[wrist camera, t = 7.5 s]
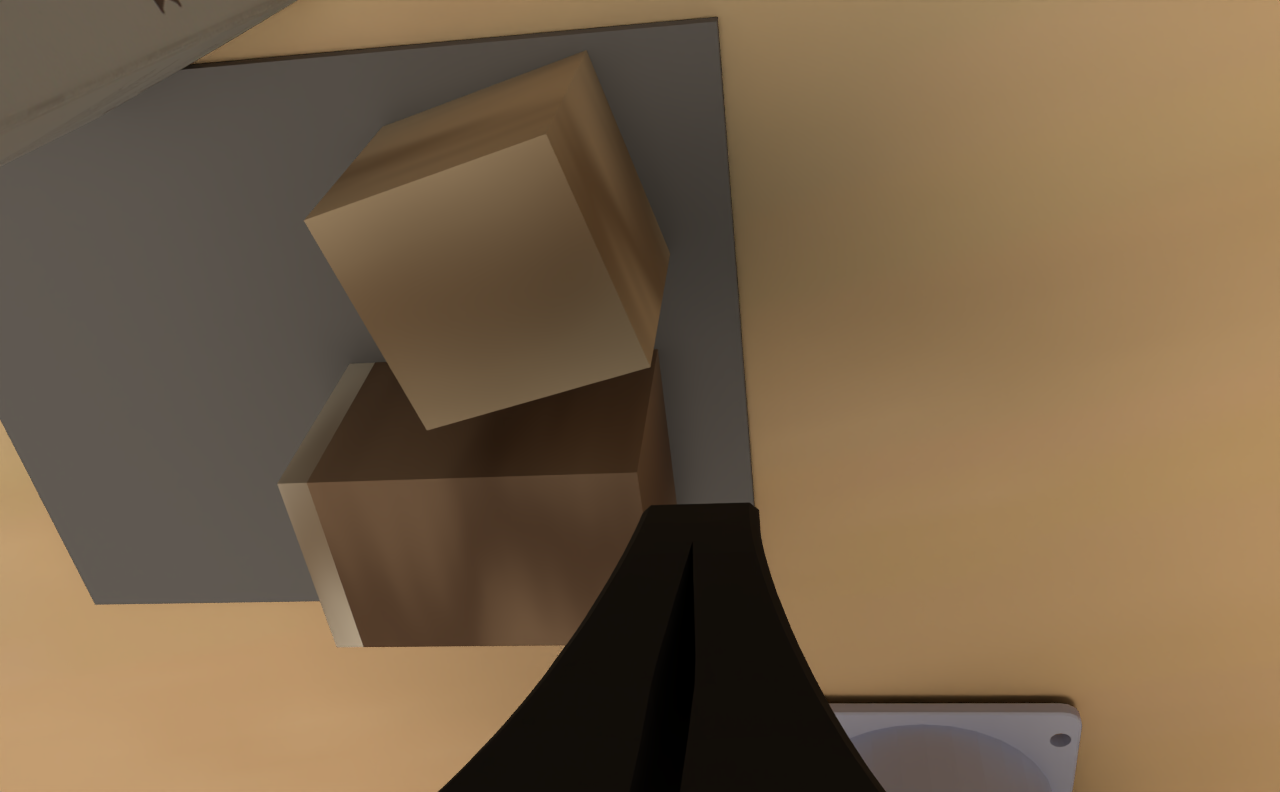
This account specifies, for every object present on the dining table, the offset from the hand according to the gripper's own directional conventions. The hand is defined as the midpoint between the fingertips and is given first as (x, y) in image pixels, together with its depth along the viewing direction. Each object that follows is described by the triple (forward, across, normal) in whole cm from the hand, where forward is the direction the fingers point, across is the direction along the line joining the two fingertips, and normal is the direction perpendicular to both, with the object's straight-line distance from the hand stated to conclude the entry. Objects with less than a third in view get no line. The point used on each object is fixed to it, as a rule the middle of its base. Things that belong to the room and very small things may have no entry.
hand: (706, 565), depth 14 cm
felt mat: (+10, +9, +3) cm, 14 cm away
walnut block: (+8, +9, +5) cm, 13 cm away
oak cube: (+10, +4, -1) cm, 11 cm away
